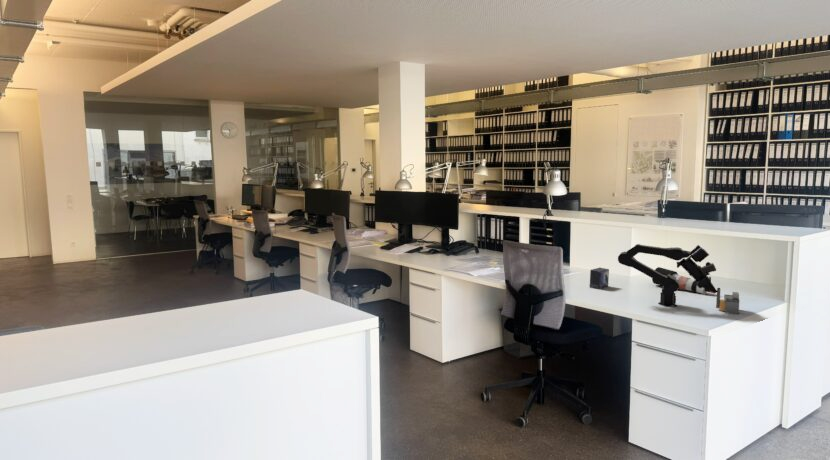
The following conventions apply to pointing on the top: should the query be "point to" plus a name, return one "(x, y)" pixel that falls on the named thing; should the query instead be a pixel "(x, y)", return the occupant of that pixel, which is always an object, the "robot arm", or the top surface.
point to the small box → (599, 278)
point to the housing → (732, 303)
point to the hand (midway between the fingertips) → (716, 292)
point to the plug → (720, 301)
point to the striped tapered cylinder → (682, 281)
